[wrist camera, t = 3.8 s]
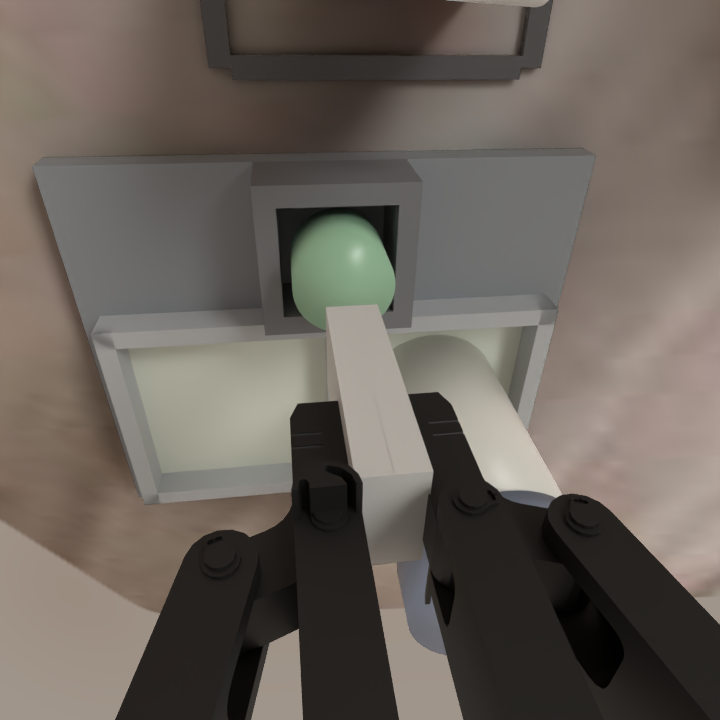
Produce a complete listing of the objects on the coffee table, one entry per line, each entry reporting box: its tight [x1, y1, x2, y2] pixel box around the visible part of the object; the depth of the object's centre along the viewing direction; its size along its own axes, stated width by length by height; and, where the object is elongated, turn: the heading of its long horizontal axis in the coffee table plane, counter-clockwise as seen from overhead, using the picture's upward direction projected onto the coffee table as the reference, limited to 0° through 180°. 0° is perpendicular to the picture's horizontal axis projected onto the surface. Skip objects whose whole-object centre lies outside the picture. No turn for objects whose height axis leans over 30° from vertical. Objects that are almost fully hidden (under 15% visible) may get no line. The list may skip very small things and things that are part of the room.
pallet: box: [32, 148, 596, 505], centre depth 26 cm, size 18×22×4 cm
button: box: [290, 208, 395, 330], centre depth 20 cm, size 4×4×3 cm
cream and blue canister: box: [393, 335, 562, 655], centre depth 24 cm, size 7×7×12 cm
